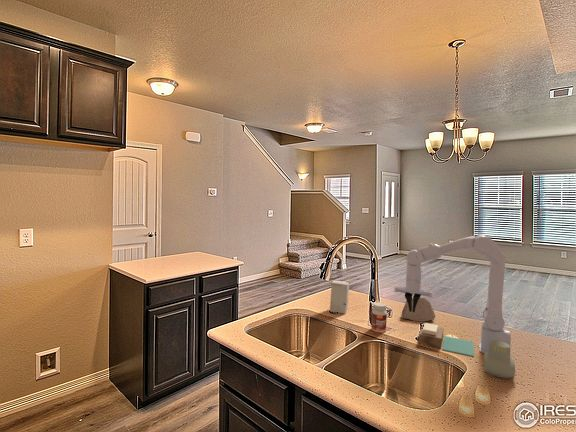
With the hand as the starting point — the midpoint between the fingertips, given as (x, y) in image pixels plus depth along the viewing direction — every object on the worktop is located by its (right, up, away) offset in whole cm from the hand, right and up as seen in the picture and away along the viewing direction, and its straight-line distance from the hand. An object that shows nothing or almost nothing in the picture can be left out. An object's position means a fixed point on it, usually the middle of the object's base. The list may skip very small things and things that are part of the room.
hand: (412, 311), depth 139 cm
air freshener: (+18, -13, -28) cm, 36 cm away
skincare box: (-26, -9, +29) cm, 40 cm away
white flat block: (+6, -7, -4) cm, 10 cm away
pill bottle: (-12, -10, +6) cm, 17 cm away
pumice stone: (+10, -10, +21) cm, 25 cm away
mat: (+15, -11, -9) cm, 20 cm away
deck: (+6, -11, -4) cm, 13 cm away
